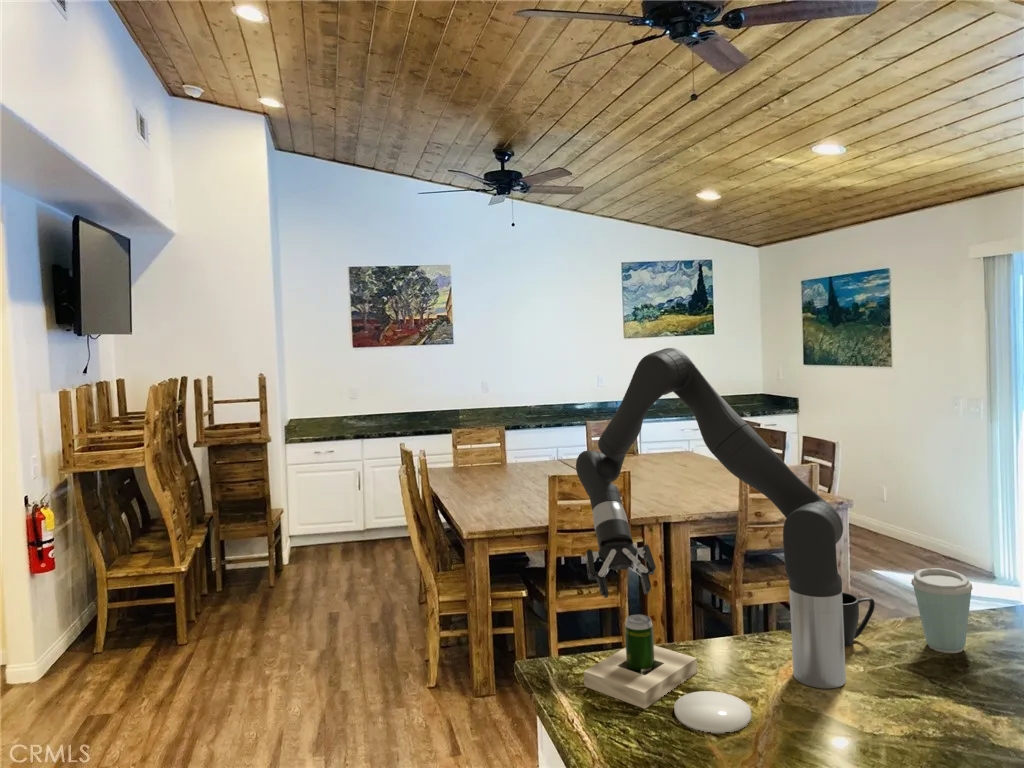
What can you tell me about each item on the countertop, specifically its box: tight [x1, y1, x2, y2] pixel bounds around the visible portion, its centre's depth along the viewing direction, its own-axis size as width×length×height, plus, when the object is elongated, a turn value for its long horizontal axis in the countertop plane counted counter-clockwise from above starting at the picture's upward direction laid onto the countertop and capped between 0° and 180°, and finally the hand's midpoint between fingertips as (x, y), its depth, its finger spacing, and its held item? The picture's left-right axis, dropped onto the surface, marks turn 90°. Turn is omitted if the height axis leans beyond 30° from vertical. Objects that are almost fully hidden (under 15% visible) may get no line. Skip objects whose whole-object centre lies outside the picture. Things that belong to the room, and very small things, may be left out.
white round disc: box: [673, 690, 752, 734], centre depth 124 cm, size 13×13×1 cm
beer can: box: [624, 614, 655, 675], centre depth 138 cm, size 5×5×12 cm
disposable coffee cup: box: [910, 567, 974, 654], centre depth 144 cm, size 11×11×15 cm
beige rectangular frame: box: [583, 645, 698, 710], centre depth 138 cm, size 18×14×3 cm
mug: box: [842, 591, 876, 648], centre depth 150 cm, size 8×12×10 cm
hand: (626, 594), depth 146 cm, fingers open, 8 cm apart
